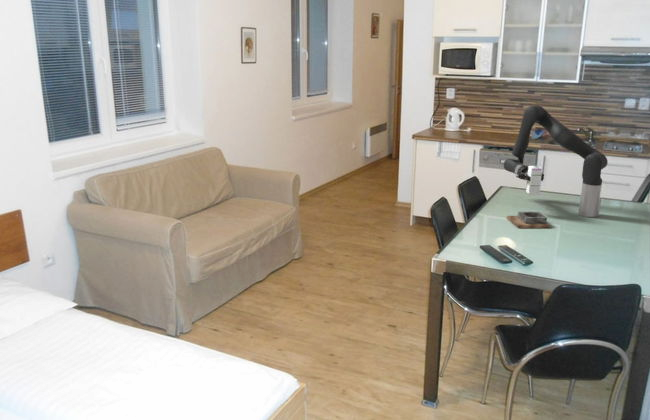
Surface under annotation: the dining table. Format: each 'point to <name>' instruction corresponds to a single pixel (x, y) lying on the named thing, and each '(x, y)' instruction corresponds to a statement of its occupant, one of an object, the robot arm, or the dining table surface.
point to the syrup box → (534, 180)
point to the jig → (529, 220)
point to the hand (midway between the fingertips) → (536, 179)
